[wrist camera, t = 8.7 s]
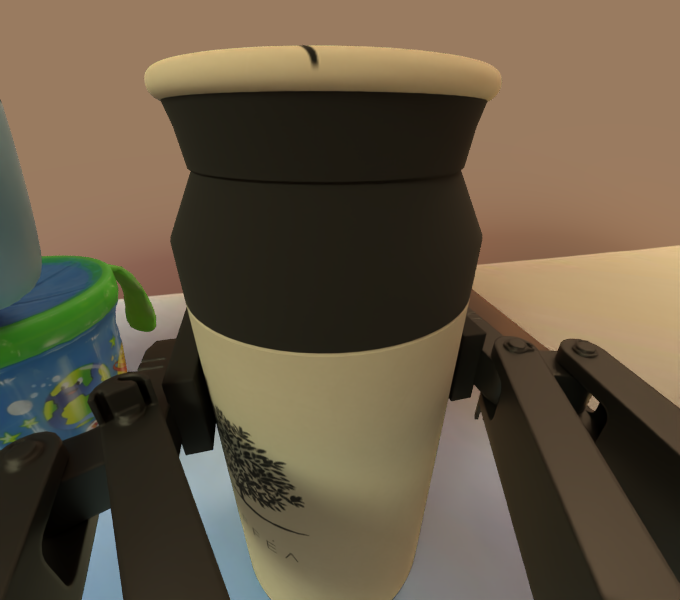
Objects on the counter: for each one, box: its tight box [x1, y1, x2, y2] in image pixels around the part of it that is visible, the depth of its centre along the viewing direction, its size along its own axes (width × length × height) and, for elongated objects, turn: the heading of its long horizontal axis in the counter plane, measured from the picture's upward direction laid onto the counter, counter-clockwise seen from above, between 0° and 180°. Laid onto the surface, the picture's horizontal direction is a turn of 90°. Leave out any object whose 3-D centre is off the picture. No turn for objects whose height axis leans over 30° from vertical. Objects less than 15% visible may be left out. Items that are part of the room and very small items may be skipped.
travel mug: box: [144, 45, 502, 600], centre depth 12 cm, size 8×8×18 cm
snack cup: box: [0, 256, 156, 450], centre depth 18 cm, size 16×10×10 cm
